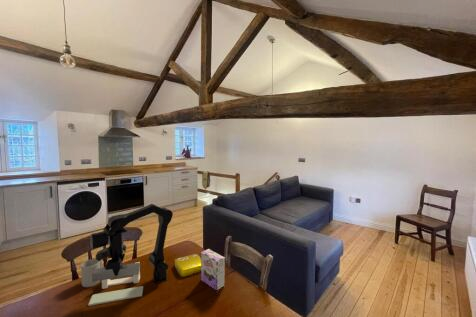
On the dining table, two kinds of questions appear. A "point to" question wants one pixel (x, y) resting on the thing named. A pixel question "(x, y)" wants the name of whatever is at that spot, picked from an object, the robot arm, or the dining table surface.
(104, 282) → the rack
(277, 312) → the dining table surface
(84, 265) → the mug
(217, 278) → the candy box
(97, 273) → the rail
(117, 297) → the mat
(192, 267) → the element tile
